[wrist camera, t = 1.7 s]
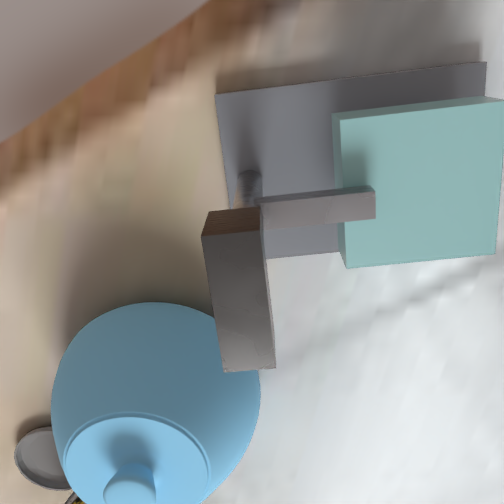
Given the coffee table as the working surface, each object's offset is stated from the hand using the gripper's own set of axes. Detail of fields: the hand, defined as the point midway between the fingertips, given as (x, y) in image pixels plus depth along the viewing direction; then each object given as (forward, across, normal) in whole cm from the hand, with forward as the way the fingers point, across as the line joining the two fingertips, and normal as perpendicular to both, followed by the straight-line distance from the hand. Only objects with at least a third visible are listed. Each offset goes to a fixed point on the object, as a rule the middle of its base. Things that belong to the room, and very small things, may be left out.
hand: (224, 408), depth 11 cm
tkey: (+21, -3, 0) cm, 21 cm away
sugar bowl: (+23, +8, +15) cm, 29 cm away
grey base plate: (+22, -7, 0) cm, 23 cm away
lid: (+18, -9, 0) cm, 21 cm away
